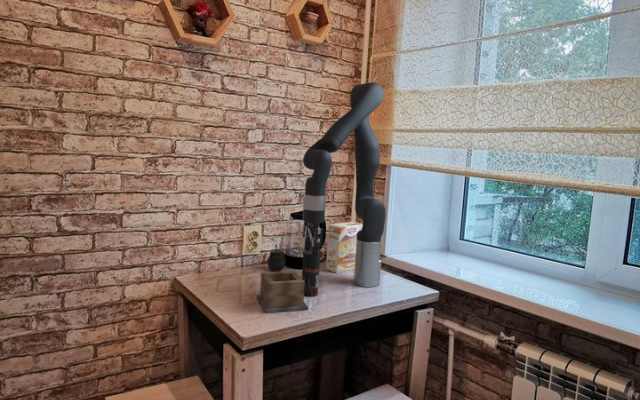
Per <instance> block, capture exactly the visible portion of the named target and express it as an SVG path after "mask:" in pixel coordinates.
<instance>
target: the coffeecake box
mask: <svg viewBox="0 0 640 400" xmlns="http://www.w3.org/2000/svg"><path fill="white" fill-rule="evenodd" d="M362 226H363V223H361V222H356V221H348V222H338V223H330V224H328V232H327V248H326V260H325V261H326V262H325V263H326V264H325V269H326V270H327V271H330V272H333V273H335V274H340V273H343V272H347V271H352V270H354V269H355V255H356V240H357V232H358V231H360V230H361V229H362Z"/></svg>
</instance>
